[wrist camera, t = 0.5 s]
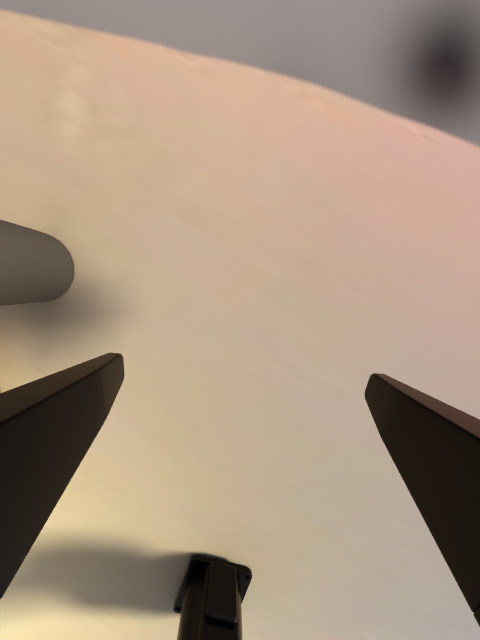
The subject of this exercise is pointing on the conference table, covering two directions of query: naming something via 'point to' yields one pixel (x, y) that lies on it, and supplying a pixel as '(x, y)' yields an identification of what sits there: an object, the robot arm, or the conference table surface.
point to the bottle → (32, 265)
